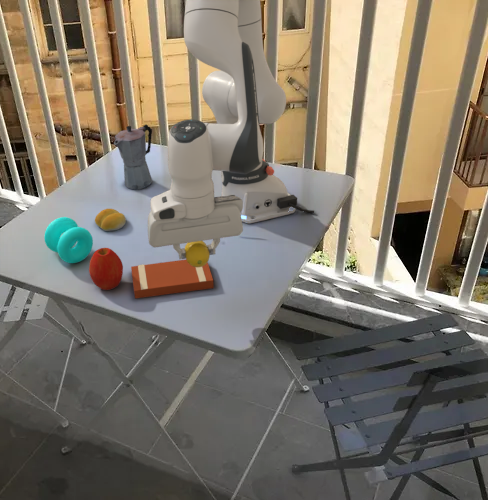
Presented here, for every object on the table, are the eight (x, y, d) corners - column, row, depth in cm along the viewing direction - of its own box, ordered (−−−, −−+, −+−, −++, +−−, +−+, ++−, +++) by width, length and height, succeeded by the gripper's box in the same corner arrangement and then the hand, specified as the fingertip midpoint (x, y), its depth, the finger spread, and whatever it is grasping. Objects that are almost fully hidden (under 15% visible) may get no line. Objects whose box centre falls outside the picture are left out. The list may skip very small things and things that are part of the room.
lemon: (183, 255, 127) (181, 236, 124) (206, 252, 127) (205, 232, 124) (188, 274, 121) (187, 255, 118) (212, 271, 121) (211, 251, 118)
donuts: (78, 241, 156) (72, 210, 151) (97, 255, 150) (91, 223, 144) (46, 255, 151) (39, 223, 146) (64, 271, 145) (57, 238, 139)
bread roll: (109, 235, 158) (107, 223, 156) (91, 224, 164) (89, 212, 161) (132, 224, 162) (131, 212, 160) (114, 213, 168) (112, 201, 166)
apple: (115, 270, 143) (110, 235, 137) (131, 286, 138) (126, 250, 132) (86, 282, 140) (79, 246, 134) (101, 299, 134) (94, 262, 128)
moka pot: (111, 188, 181) (103, 129, 170) (144, 170, 191) (138, 114, 180) (132, 196, 176) (125, 136, 165) (165, 177, 185) (160, 119, 174)
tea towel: (206, 264, 143) (205, 256, 142) (213, 288, 135) (213, 279, 133) (132, 274, 142) (131, 266, 140) (135, 298, 133) (133, 290, 132)
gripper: (239, 186, 118) (239, 241, 126) (143, 199, 117) (149, 253, 125) (246, 201, 113) (246, 256, 121) (145, 215, 112) (152, 270, 120)
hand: (196, 255), depth 123 cm, fingers closed on lemon, 5 cm apart
